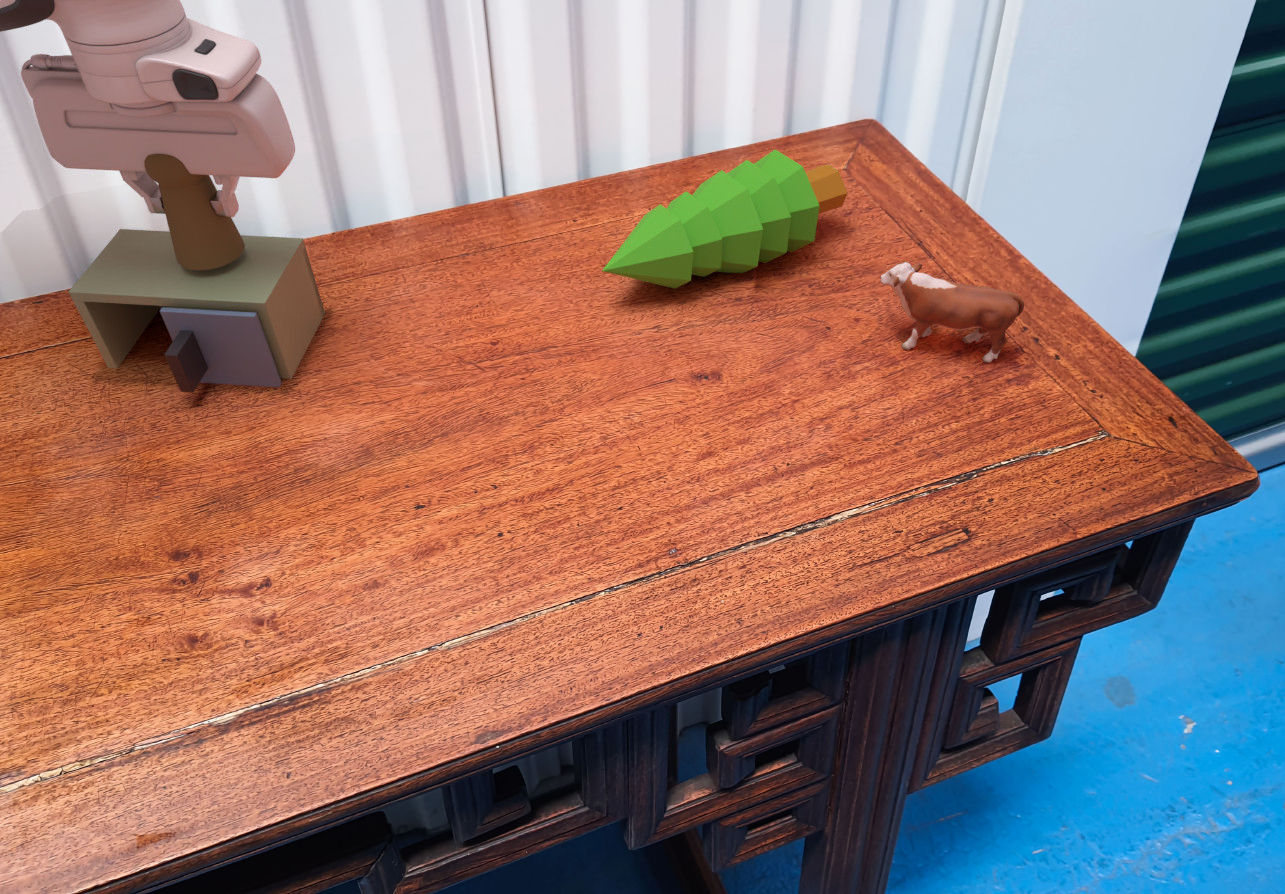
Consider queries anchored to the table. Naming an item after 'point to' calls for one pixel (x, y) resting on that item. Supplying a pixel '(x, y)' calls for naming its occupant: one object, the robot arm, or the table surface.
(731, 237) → the decorative tree
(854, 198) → the table surface
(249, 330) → the slide door
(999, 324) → the bull figurine
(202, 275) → the cupboard
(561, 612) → the table surface
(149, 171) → the cork
